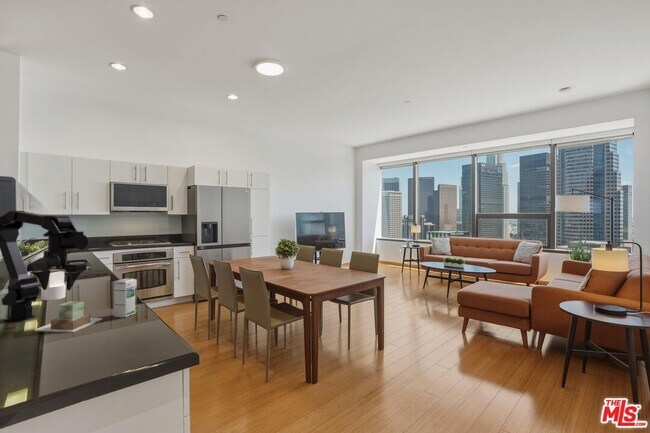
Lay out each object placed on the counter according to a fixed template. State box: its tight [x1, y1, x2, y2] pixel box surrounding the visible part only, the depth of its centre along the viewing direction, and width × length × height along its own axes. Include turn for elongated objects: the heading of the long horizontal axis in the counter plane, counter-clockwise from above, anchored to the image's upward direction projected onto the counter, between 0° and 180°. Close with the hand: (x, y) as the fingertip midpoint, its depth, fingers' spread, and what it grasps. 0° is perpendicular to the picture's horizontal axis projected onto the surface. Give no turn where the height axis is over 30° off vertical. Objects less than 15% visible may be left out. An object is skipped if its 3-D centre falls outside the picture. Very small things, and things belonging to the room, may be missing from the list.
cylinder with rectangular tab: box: [40, 271, 67, 301], centre depth 155 cm, size 9×9×12 cm
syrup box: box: [113, 278, 138, 318], centre depth 131 cm, size 6×6×14 cm
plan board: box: [33, 313, 103, 333], centre depth 118 cm, size 14×14×4 cm
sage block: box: [58, 300, 85, 320], centre depth 116 cm, size 5×5×5 cm
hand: (56, 289), depth 121 cm, fingers open, 9 cm apart
